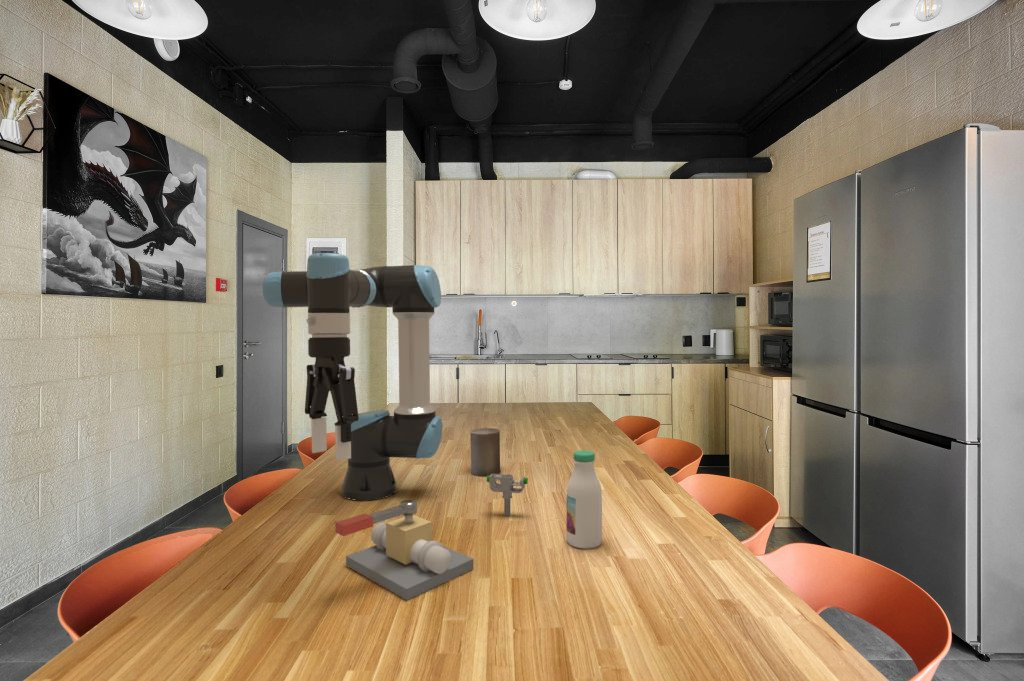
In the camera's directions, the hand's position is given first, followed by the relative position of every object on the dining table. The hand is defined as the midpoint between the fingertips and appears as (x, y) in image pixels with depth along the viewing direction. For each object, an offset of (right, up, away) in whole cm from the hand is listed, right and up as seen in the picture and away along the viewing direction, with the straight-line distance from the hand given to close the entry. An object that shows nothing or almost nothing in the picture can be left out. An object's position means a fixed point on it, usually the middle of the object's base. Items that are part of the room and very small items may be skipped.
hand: (331, 455), depth 101 cm
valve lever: (+10, -12, -1) cm, 16 cm away
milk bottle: (+50, -23, +16) cm, 58 cm away
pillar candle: (+26, -21, +72) cm, 79 cm away
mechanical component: (+33, -22, +33) cm, 52 cm away
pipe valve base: (+14, -23, +4) cm, 27 cm away
